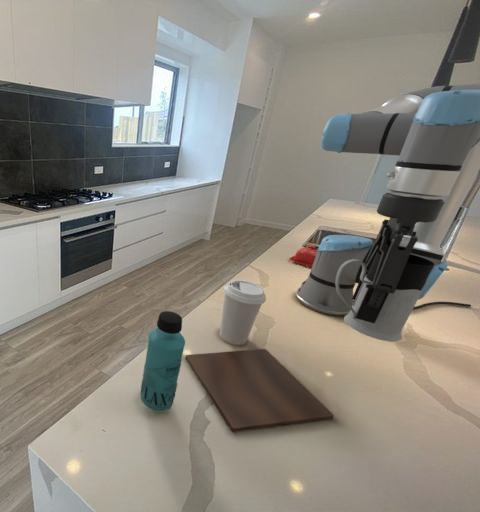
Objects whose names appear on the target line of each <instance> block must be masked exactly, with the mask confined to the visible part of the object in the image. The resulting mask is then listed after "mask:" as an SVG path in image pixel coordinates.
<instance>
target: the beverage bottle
mask: <svg viewBox="0 0 480 512" xmlns="http://www.w3.org/2000/svg"><path fill="white" fill-rule="evenodd" d="M182 327H183V317H182V316H181V315H180V314H178V313H177V312H174V311H171V310H170V311H169V310H166V311H161V312H160V313H159V314H158V318H157V321H156V327H155V328H153V329H152V330H151V331H150V332H149V333H148V342H147V348H146V355H145V362H144V365H143V370H142V371H143V372H142V379H141V386H140V395H139V396H140V399H141V402H142V403H143V405H144V406H145V407H146V408H147V409H150V410H151V411H154V412H166V411H168V410H169V409H170V408H171V407H172V406H173V405H174V400H175V399H176V392H177V389H178V388H177V387H178V380H179V376H180V375H179V374H180V372H181V367H182V361H183V359H182V358H183V353H184V348H185V346H186V339H185V338H184V336H183V334H182V333H181V331H182V330H183V329H182Z"/></svg>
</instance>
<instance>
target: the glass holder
mask: <svg viewBox="0 0 480 512" xmlns="http://www.w3.org/2000/svg"><path fill="white" fill-rule="evenodd" d="M381 255H382V252H380V250H379V251H377V253H376V256H375V258H374V260H373V263H372V265H371V267H370V269H369V272H368V274H367V275H366V276H365V274H366V271H367V269H366V265H365V263H363V262H362V261H360V260H357V259H353V260H348V261H346V262H344V263H343V264H342V265H341V266H340V268H339V270H338V272H337V275H336V282H335V285H336V291H337V294H338V296H339V297H340V298H341V299H342V301H343V302H344V303H345V304H346V305H347V306H348V307H349V308H350V313H349V314H348V315H346V316H343V321H344V323H345V324H346V325H347V326H348V327H350V328H351V329H353V330H354V331H356V332H358V333H360V334H363V335H364V336H367V337H370V338H372V339H376V340H380V341H384V342H399V341H401V340H402V338H403V337H402V336H403V335H402V331H403V329H404V327H405V325H406V323H407V320H409V317H410V316H411V313H412V312H413V311H414V310H413V308H414V307H416V304H417V302H418V301H419V300H418V298H419V296H420V295H421V293H422V291H423V289H424V287H425V285H426V283H427V280H428V276H429V274H430V272H431V270H432V268H433V267H434V265H435V264H434V263H433V262H432V261H430V260H427V259H425V258H422V257H419V256H416V255H412V254H410V255H409V258H408V260H407V263H406V265H405V268H404V270H403V272H402V275H401V277H400V280H399V282H398V285H397V287H396V291H395V292H394V293H393V294H392V293H389V294H388V296H387V298H386V300H385V303H384V305H383V307H382V309H381V311H380V313H379V315H378V317H377V319H376V322H375V324H374V323H371V322H367V321H364V320H360V319H357V318H356V317H355V316H356V314H357V312H358V310H359V307H360V305H361V303H362V300H363V298H364V296H365V294H366V291H367V289H368V288H366V284H369V285H371V284H372V282H373V279H374V276H375V273H376V270H377V267H378V264H379V261H380V258H381ZM352 262H360V263H361V265H362V273H361V275H360V280H361V281H362V282H363V283H362V285H361V287H360V289H359V292H358V294H357V296H356V299H355V300H354V303H353V306H352V307H351V306H350V305H349V304H348V303H347V302H346V301H345V299H344V298H343V296H342V295H341V292H340V288H339V280H340V276H341V273H342V271H343V269H344V267H345V266H346V265H347V264H349V263H352ZM364 277H365V278H364ZM385 285H386V284H385Z"/></svg>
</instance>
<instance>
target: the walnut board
mask: <svg viewBox="0 0 480 512" xmlns="http://www.w3.org/2000/svg"><path fill="white" fill-rule="evenodd" d="M184 359H185V361H186V362H187V364H188V365H189V367H190V369H191V370H192V372H193V373H194V375H195V376H196V378H197V379H198V381H199V382H200V384H201V386H202V387H203V388H204V390H205V392H206V393H207V395H208V396H209V398H210V400H211V402H212V403H213V404H214V406H215V408H216V409H217V411H218V413H219V414H220V416H221V417H222V419H223V420H224V422H225V424H226V425H227V426H228V428H229V430H230V431H231V432H232V433H236V432H244V431H252V430H259V429H267V428H275V427H281V426H289V425H295V424H296V425H297V424H305V423H312V422H320V421H326V420H327V421H328V420H332V419H333V418H334V416H335V415H334V414H333V412H331V411H330V410H329V408H328V407H326V405H324V403H322V402H321V401H320V400H319V399H318V398H317V396H315V395H314V394H313V393H312V392H311V391H310V390H308V388H307V387H305V385H303V384H302V382H300V380H299V379H297V377H295V376H294V375H293V374H292V373H291V372H290V371H289V370H288V369H287V368H286V367H285V366H284V365H282V363H280V361H278V360H277V359H276V357H274V356H273V355H272V354H271V353H270V352H269V350H267V349H266V348H257V349H245V350H232V351H231V350H230V351H220V352H219V351H218V352H209V353H207V352H205V353H195V354H185V358H184Z"/></svg>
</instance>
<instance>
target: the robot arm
mask: <svg viewBox="0 0 480 512" xmlns="http://www.w3.org/2000/svg"><path fill="white" fill-rule="evenodd" d="M320 140H321V141H320V142H321V145H320V146H321V148H322V149H323V150H324V151H326V152H333V153H334V152H335V153H338V154H341V153H348V154H349V153H350V154H351V153H352V154H368V155H370V154H371V155H384V156H386V155H387V156H399V157H398V159H397V162H396V163H395V165H394V169H393V171H388V172H387V173H386V178H388V179H389V181H388V182H387V185H386V189H387V191H389V192H385V193H384V194H382V196H381V199H380V201H379V203H378V205H377V209H376V213H377V214H378V215H380V216H383V217H386V219H383V220H382V222H381V226H380V229H379V231H378V234H377V236H376V237H375V240H374V241H373V239H371V238H367V237H364V236H359V235H351V234H330V235H327V236H324V237H323V238H322V240H321V242H320V244H319V246H318V248H317V250H318V251H317V254H316V257H315V260H314V263H313V266H312V267H311V268H310V272H309V275H308V277H307V278H306V279H305V280H304V281H302V283H300V287H299V288H297V290H296V292H295V296H294V297H295V299H296V301H297V302H298V303H299V304H301V305H302V306H304V307H306V308H307V309H309V310H312V311H315V312H317V313H321V314H323V315H328V316H334V317H345V316H346V315H348V314H349V313H350V308H349V307H348V306H347V305H346V304H345V303H344V302H343V301H342V299H341V298H340V297H339V296H338V294H337V291H336V285H335V282H336V275H337V272H338V270H339V268H340V266H341V265H342V264H343V263H344V262H346V261H348V260H353V259H357V260H360V261H362V262H363V263H365V265H366V269H367V271H366V274H365V276H366V275H367V274H368V272H369V269H370V267H371V265H372V263H373V260H374V258H375V256H376V253H377V251H379V250H380V252H382V255H381V258H380V261H379V264H378V267H377V270H376V273H375V276H374V279H373V282H372V284H371V285H369V284H366V288H368V289H367V291H366V294H365V296H364V298H363V300H362V303H361V305H360V307H359V310H358V312H357V314H356V316H355V317H356V318H357V319H360V320H364V321H367V322H371V323H374V324H375V322H376V319H377V317H378V315H379V313H380V311H381V309H382V307H383V305H384V303H385V300H386V298H387V296H388V294H389V293H392V294H393V293H394V292H395V291H396V287H397V285H398V282H399V280H400V277H401V275H402V272H403V270H404V268H405V265H406V263H407V260H408V258H409V255H410V254H412V255H416V256H419V257H422V258H425V259H427V260H430V261H432V262H433V263H434V264H435V265H434V267H433V268H432V270H431V272H430V274H429V276H428V280H427V283H426V285H425V287H424V289H423V291H422V293H421V295H420V296H419V298H418V300H417V301H419V300H422V299H423V298H424V297H425V296H426V295H427V294H428V292H429V291H430V290H431V288H432V287H433V286H434V284H435V283H436V282H437V281H438V280H439V278H440V277H441V276H442V274H443V273H444V271H446V269H447V268H448V267H449V263H448V262H446V261H443V258H445V255H446V254H445V253H444V251H443V250H442V248H441V244H442V242H443V241H444V239H445V236H446V235H447V233H448V231H449V229H450V227H451V225H452V223H453V221H454V220H455V217H456V215H457V213H458V212H459V209H460V208H461V206H462V204H463V202H464V200H465V199H466V196H467V194H468V193H469V191H470V189H471V187H472V185H473V182H474V181H475V179H476V177H477V175H478V173H479V172H480V83H468V84H454V85H437V86H431V87H425V88H422V89H421V88H420V89H417V90H413V91H410V92H407V93H404V94H403V93H402V94H400V95H397V96H394V97H393V98H390V99H389V100H387V101H386V102H385V103H383V104H382V105H381V106H379V107H376V108H373V109H370V110H367V111H365V112H361V113H350V112H348V113H339V114H334V115H333V116H331V117H330V118H329V119H328V120H327V122H326V124H325V126H324V129H323V131H322V135H321V139H320ZM387 218H389V219H387ZM361 273H362V265H361V263H360V262H352V263H349V264H347V265H346V266H345V267H344V269H343V271H342V273H341V276H340V280H339V288H340V292H341V295H342V296H343V298H344V299H345V301H346V302H347V303H348V304H349V305H350V306H351V307H352V306H353V303H354V301H355V299H356V296H357V294H358V292H359V289H360V287H361V285H362V283H363V282H362V281H361V280H360V275H361ZM364 278H365V277H364ZM385 284H386V285H385ZM356 285H357V286H356ZM355 286H356V288H355ZM354 288H355V290H354ZM434 305H452V306H458V307H459V306H460V307H468V308H471V307H472V304H471V303H470V304H469V303H462V302H454V301H431V302H426V303H422V304H420V305H417V306H416V305H415V306H414V308H413V310H412V311H415V310H418V309H419V310H420V309H422V308H425V307H428V306H429V307H430V306H434Z"/></svg>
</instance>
